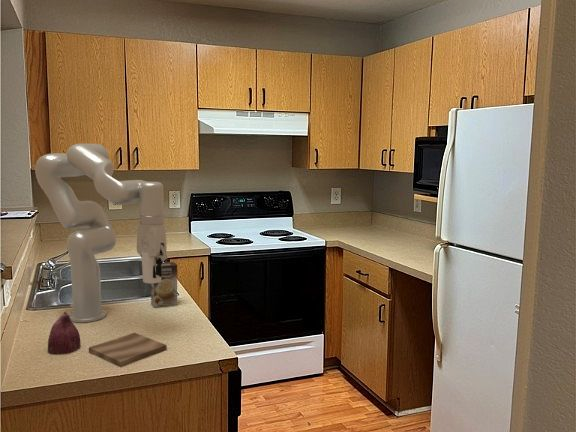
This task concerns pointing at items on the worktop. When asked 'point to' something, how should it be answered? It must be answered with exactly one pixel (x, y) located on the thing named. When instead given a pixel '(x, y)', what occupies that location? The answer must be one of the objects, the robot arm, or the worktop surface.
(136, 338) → the walnut board
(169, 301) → the coffee box
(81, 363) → the worktop surface
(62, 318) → the vegetable
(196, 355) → the worktop surface
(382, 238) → the worktop surface
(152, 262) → the white coffee cup
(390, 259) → the worktop surface
